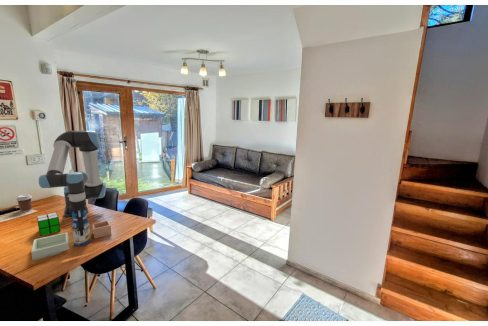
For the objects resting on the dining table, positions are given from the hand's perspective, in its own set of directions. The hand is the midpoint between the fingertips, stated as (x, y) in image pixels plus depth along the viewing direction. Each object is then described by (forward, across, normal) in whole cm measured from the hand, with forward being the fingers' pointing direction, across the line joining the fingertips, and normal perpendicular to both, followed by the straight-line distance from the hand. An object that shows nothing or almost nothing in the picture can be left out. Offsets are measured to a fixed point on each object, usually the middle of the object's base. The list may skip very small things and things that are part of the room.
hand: (82, 237), depth 134 cm
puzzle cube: (+4, -31, -16) cm, 35 cm away
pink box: (+4, -6, +10) cm, 13 cm away
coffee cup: (+4, -84, -32) cm, 90 cm away
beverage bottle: (+4, 0, 0) cm, 4 cm away
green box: (+4, -3, -14) cm, 15 cm away
